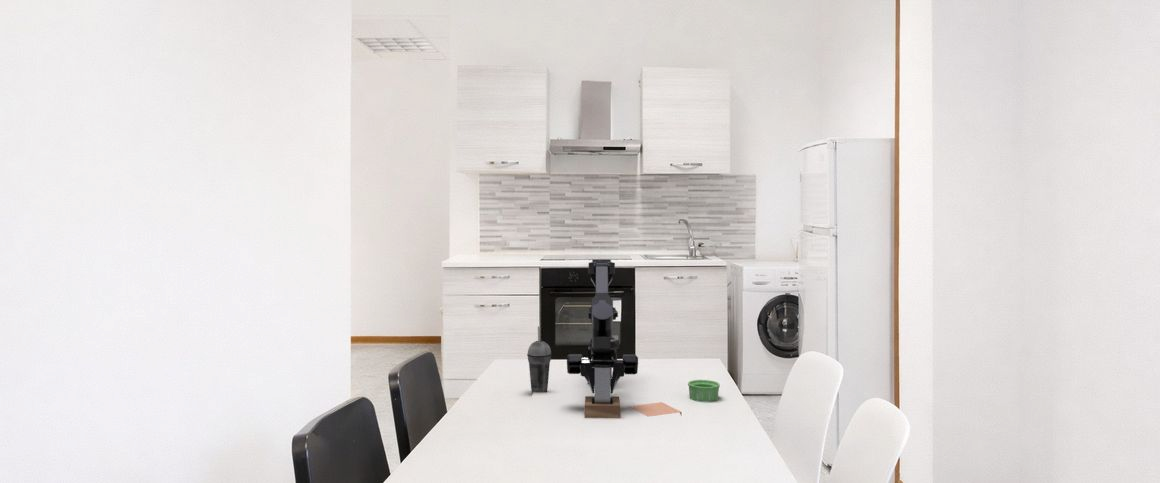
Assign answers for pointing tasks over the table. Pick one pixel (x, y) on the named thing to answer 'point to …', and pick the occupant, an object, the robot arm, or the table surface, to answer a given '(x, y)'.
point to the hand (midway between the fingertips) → (602, 392)
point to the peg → (602, 384)
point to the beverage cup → (539, 364)
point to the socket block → (602, 408)
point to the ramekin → (703, 390)
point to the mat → (655, 409)
